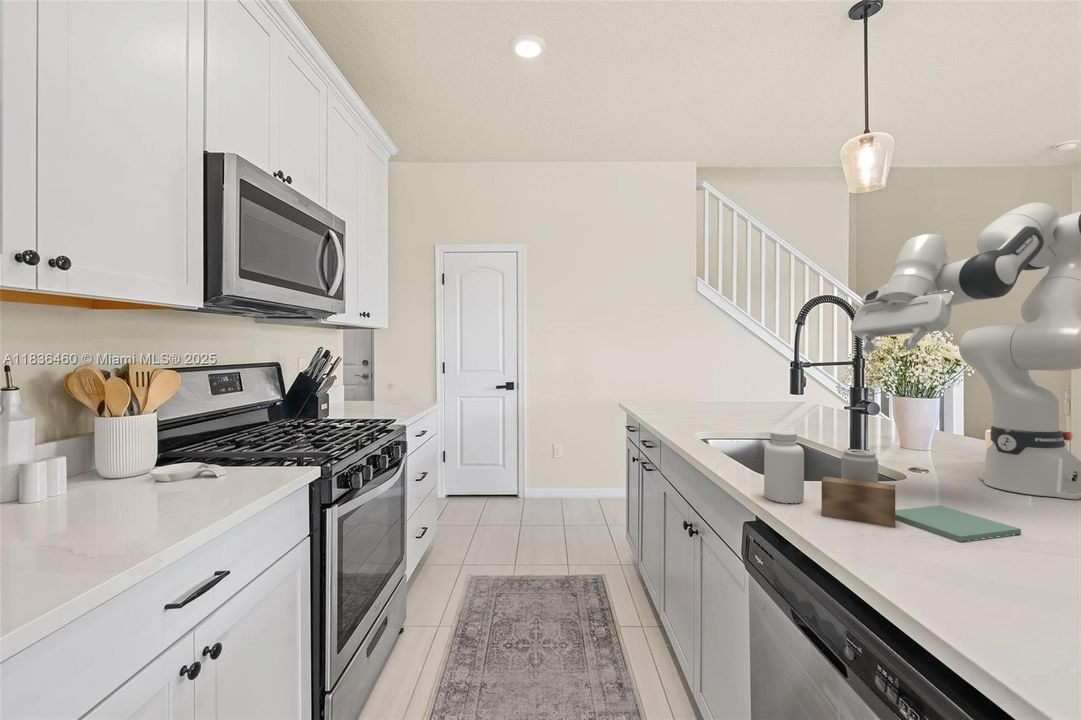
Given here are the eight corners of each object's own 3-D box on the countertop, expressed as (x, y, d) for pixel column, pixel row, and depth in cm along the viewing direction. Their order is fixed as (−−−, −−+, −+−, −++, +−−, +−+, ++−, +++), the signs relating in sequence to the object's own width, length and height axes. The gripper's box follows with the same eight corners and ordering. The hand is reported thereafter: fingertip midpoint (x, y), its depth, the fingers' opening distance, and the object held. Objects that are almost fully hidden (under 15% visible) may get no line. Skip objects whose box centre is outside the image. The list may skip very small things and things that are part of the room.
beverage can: (866, 504, 105) (866, 448, 105) (884, 514, 99) (884, 454, 99) (835, 503, 106) (835, 448, 106) (851, 513, 99) (851, 454, 99)
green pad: (940, 510, 101) (940, 505, 101) (1021, 534, 87) (1021, 528, 87) (885, 516, 98) (885, 511, 98) (960, 542, 84) (960, 536, 84)
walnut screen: (821, 515, 98) (821, 480, 98) (823, 510, 102) (823, 476, 102) (895, 527, 91) (895, 489, 91) (895, 521, 95) (895, 485, 95)
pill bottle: (768, 503, 107) (768, 434, 106) (761, 493, 114) (760, 428, 114) (808, 505, 105) (808, 435, 105) (798, 495, 113) (798, 429, 112)
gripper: (966, 295, 103) (947, 353, 100) (873, 310, 122) (855, 358, 120) (946, 280, 102) (926, 337, 99) (856, 297, 121) (837, 346, 118)
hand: (887, 349), depth 109 cm, fingers open, 8 cm apart
